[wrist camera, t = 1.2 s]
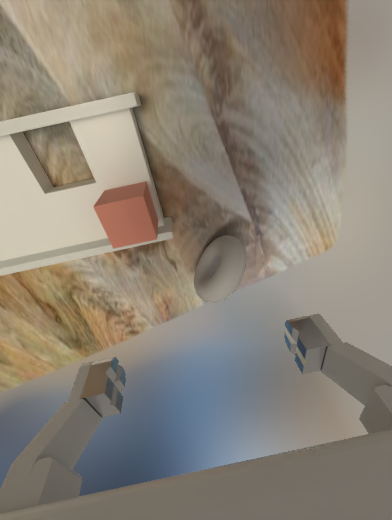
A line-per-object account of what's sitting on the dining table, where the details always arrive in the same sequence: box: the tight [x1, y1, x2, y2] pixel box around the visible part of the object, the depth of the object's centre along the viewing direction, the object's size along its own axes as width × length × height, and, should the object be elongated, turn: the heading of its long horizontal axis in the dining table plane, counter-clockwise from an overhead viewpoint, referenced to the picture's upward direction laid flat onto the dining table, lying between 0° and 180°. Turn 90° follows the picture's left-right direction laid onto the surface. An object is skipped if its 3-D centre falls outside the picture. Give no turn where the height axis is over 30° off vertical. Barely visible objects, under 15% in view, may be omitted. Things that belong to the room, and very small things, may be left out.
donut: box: [194, 235, 246, 303], centre depth 31 cm, size 10×4×10 cm, turn 148°
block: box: [93, 181, 158, 249], centre depth 25 cm, size 5×5×5 cm
